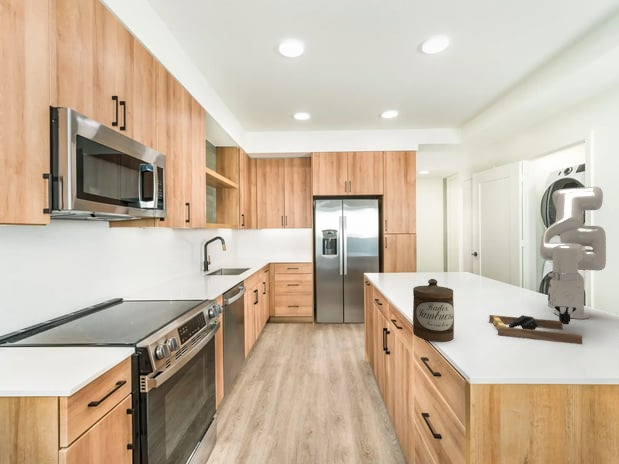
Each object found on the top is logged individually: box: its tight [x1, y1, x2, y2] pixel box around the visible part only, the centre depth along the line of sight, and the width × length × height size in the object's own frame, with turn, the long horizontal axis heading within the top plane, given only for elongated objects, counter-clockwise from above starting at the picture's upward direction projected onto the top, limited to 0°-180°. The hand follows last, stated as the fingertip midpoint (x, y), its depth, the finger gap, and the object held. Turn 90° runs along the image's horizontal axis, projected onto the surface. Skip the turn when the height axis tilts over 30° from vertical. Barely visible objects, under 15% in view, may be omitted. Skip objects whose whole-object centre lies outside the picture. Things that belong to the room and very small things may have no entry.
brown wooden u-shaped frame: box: [488, 314, 583, 345], centre depth 123 cm, size 18×26×3 cm
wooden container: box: [412, 278, 455, 343], centre depth 120 cm, size 15×15×22 cm
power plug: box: [508, 314, 539, 330], centre depth 123 cm, size 6×8×12 cm
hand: (564, 323), depth 120 cm, fingers closed
